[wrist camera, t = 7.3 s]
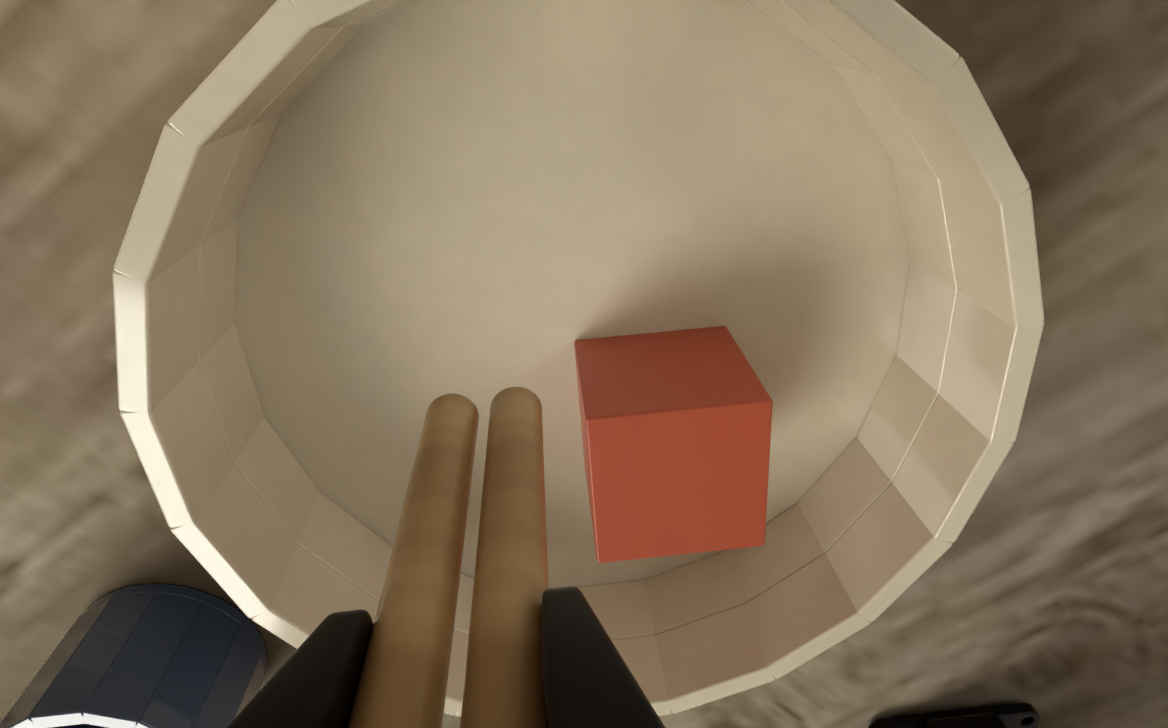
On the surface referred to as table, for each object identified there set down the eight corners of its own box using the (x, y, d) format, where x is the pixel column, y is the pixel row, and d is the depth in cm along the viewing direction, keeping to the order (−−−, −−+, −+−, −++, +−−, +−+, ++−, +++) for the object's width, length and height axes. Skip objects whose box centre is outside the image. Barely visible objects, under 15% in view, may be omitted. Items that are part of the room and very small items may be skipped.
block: (722, 452, 20) (765, 546, 17) (584, 465, 20) (597, 564, 17) (725, 324, 18) (773, 400, 15) (573, 339, 18) (585, 418, 15)
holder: (289, 700, 24) (242, 836, 20) (114, 719, 24) (32, 861, 20) (240, 573, 22) (175, 701, 18) (43, 594, 22) (-68, 728, 18)
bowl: (875, 554, 23) (957, 683, 19) (318, 613, 23) (268, 762, 18) (973, -101, 15) (1161, -147, 11) (104, -34, 14) (-84, -53, 10)
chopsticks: (550, 428, 13) (632, 1907, 3) (426, 441, 13) (63, 1998, 3) (544, 379, 12) (617, 1936, 2) (416, 392, 12) (-69, 2053, 2)
